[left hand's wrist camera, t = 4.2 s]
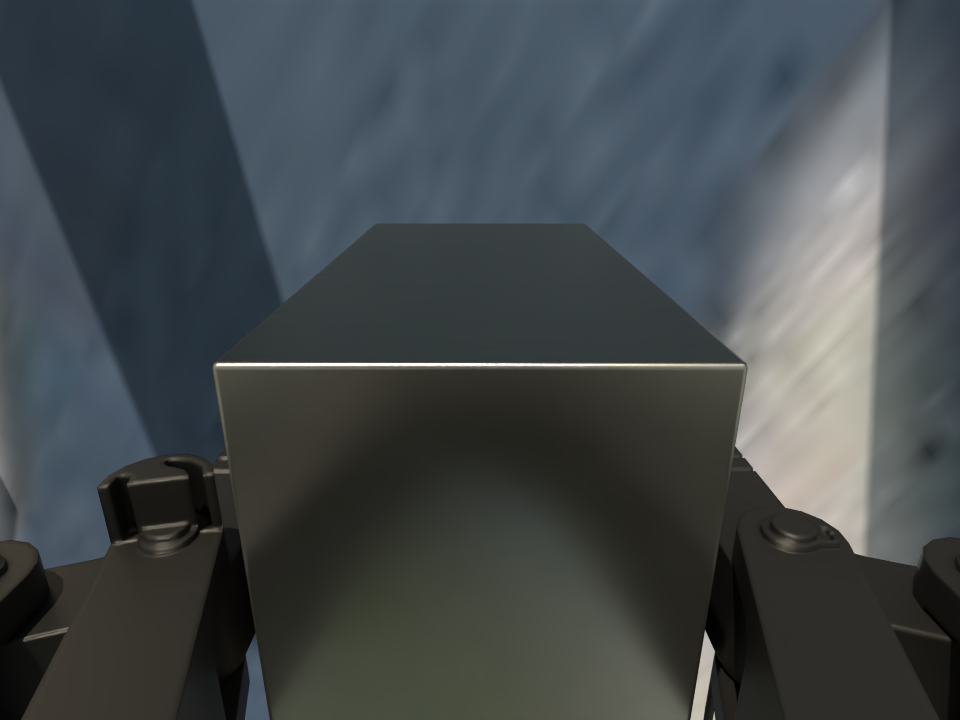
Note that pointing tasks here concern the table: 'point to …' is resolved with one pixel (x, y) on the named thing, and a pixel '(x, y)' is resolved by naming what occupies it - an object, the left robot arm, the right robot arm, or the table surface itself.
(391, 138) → the table surface
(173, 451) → the table surface
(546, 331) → the bar
